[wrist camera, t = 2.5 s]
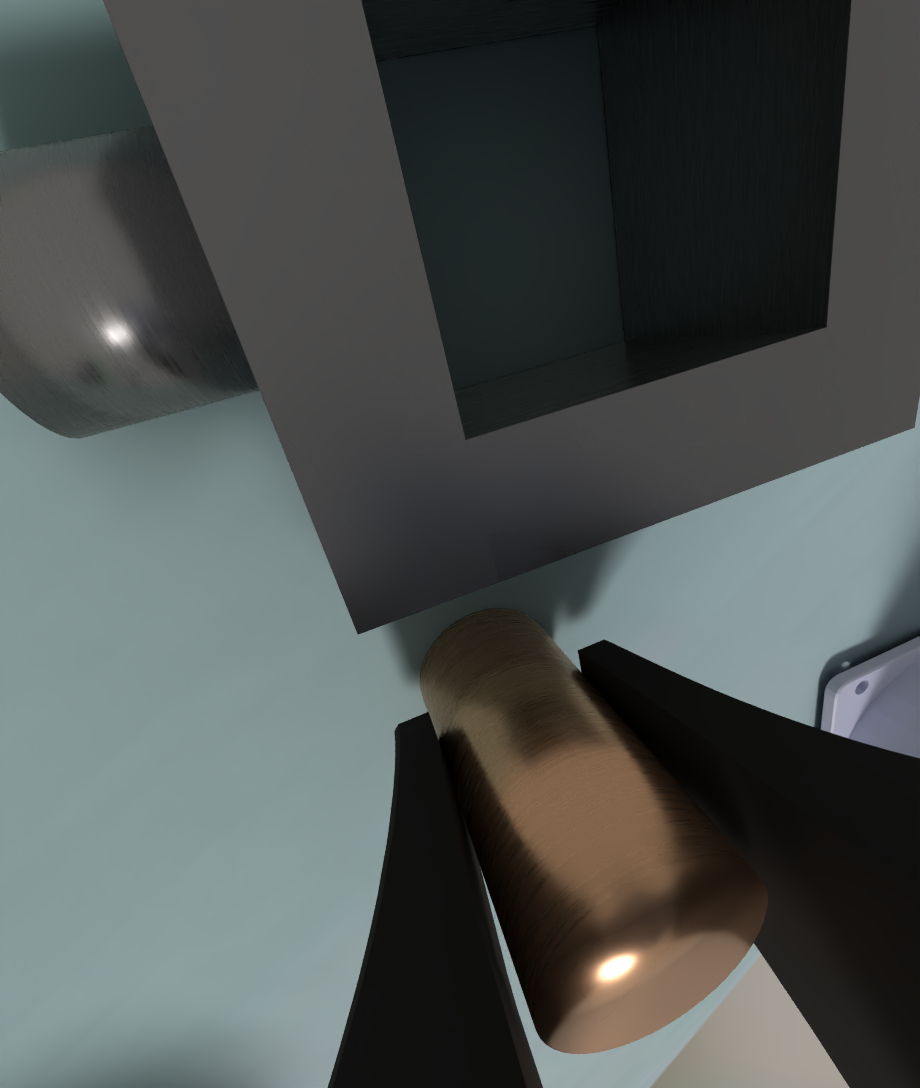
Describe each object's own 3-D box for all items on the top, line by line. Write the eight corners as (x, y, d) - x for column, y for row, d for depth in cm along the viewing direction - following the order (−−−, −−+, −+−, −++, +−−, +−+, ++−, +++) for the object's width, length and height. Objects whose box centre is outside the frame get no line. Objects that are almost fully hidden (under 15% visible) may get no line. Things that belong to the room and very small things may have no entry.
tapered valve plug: (538, 588, 11) (771, 818, 5) (559, 695, 12) (764, 968, 7) (402, 640, 10) (508, 956, 5) (440, 747, 11) (556, 1088, 6)
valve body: (824, -160, 7) (1316, -660, 4) (795, 374, 11) (1044, 379, 7) (-142, -70, 5) (-1187, -1072, 2) (200, 569, 8) (118, 723, 5)
